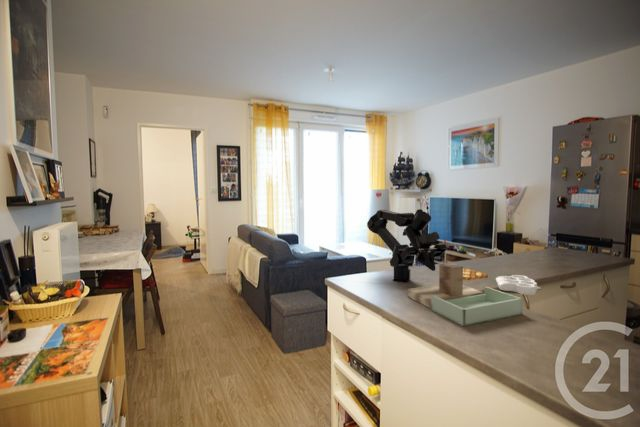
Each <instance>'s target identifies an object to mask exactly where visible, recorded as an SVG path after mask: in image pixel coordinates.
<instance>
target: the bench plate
mask: <svg viewBox="0 0 640 427" xmlns="http://www.w3.org/2000/svg"><path fill="white" fill-rule="evenodd" d="M480 294H484V291H481V290H479V289H476V288H473V287H470V286H467V285H465V284H463V294H462V295H457V296H449V295H447V294H444V293H442V292H439V283H438V284H431V285H426V286H419V287H411V288H407V298H410V299H412V300H413V301H415V302H417V303H419V304H422V305H423V306H425V307H427V308H429V309H431V296H432V295H434V296H436V297H438V298H441V299H443V300H451V299H457V298H462V297H468V296H474V295H480Z"/></svg>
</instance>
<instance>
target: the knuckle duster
mask: <svg viewBox="0 0 640 427" xmlns="http://www.w3.org/2000/svg"><path fill="white" fill-rule="evenodd" d="M495 282H496V284H497V286H498V288H499V289H500V290H501V291H505V292H515V293H518V294H520V295H526V296H534V295H536V293H537V290H541V289H542V287H540V286H538V283H537V282H536V280H534V279H532V278H529V277H528V276H527V275H522V274H521V275H520V274H512V275H500V276H499V275H498V276H497V277H495Z"/></svg>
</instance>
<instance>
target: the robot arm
mask: <svg viewBox="0 0 640 427" xmlns="http://www.w3.org/2000/svg"><path fill="white" fill-rule="evenodd" d="M431 219H432V216H431V215H430V214H429V213H427V212H426V211H424V210H423V209H421V208H420V209H417V210H416V211H415V213H413V212H401V213H400V212H397V211H396V212H395V211H392V210H388V209H379V210H377V211H376V213H375V214H373V215H371V216H370V218H369V219H368V221H367V222H366V227H367V229H368V230H369V231H370V232H372V233H373V234H375V235H378V237H379V238H381V240H382V241H383V242H384V243H385V245H386V246H387V247H388V248H389V250H390V251H391V252H392V256H391V259H390V260H389V263H390V264H389V265H390V267H393V278H392V281H394V282H404V283H408V282H409V281H410V280H411V276H412V275H411V269H410V267H413V266H414V261H416V262H418V263H420V264H421V265H423V266H425V267H426V268H427V269H429V270H430V271H432V272H435V271H436V263H435V258H441V256H443V255H444V253H445V252H446V251H447V250H448V247H447V245H446V244H445V243H438V244H434V247H432V246H433V243H435V242H438V241H439V240H440V239H441V238H440V237H441V236H440V235H439V233H438V232H437V231H433V232H431V233H430V232H429V233H424V234H423V233H422V231H424V230H425V228H426V227H428V225H429V223H430V222H431ZM389 222H394V224H395V226H398V227H400V228H401V227H402V228H403V227H404V229H403V232H402V236H403V237H404V236H406V237H407V238H408V240H409V245H408V244H401V243H400V242H399V241H398V240H397V239H396V237H394V235H393V234H392V233H391V232H390V231H389V229H388V228H387V224H388V223H389ZM415 257H416V258H415Z"/></svg>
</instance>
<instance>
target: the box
mask: <svg viewBox="0 0 640 427" xmlns="http://www.w3.org/2000/svg"><path fill="white" fill-rule="evenodd" d="M483 288H484V291H483V294H480V295H474V296H468V297H462V298H457V299H451V300H443V299H441V298H438V297H436V296H434V295H432V296H431V308H430V310H431V311H432V312H434V313H436V314H438V315H439V316H442V317H443V318H446V319H448V320H449V321H452V322H453V323H455V324H458V325H459V326H461V327H467V326H473V325H477V324H481V323H482V324H483V323H485V322H490V321H495V320H500V319H506V318H509V317H514V316H519V315H523V297H519V296H515V295H513V294H510V293H508V292H503V291H502V290H501V291H500V290H498V289H495V288H492V287H489V286H484V287H483Z"/></svg>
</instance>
